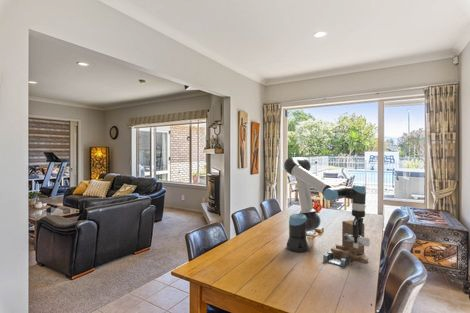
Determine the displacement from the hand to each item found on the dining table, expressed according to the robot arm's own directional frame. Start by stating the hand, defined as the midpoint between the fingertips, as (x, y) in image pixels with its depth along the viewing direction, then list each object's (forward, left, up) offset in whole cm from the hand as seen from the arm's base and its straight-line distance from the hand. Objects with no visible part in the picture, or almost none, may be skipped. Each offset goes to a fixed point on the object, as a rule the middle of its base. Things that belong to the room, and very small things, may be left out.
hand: (357, 246), depth 165 cm
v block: (-8, -12, -8) cm, 17 cm away
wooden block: (-6, +13, -9) cm, 17 cm away
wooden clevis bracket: (-4, 0, -8) cm, 9 cm away
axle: (0, 0, +2) cm, 2 cm away
